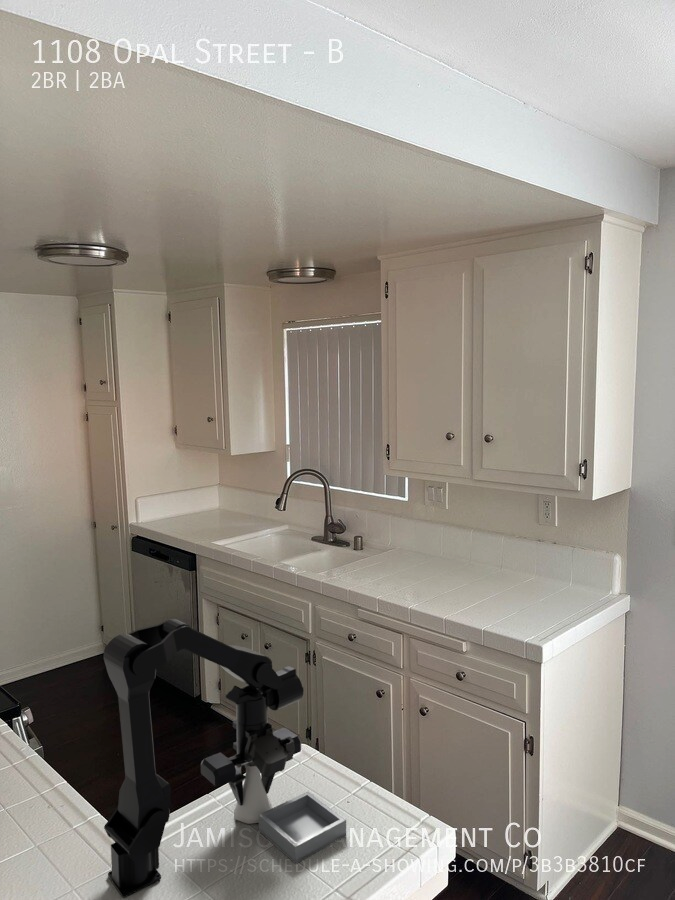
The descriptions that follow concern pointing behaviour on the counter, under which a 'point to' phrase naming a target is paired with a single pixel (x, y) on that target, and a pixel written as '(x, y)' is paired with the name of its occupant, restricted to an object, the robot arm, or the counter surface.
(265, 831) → the box
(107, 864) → the counter surface
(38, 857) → the counter surface
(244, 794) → the flask
